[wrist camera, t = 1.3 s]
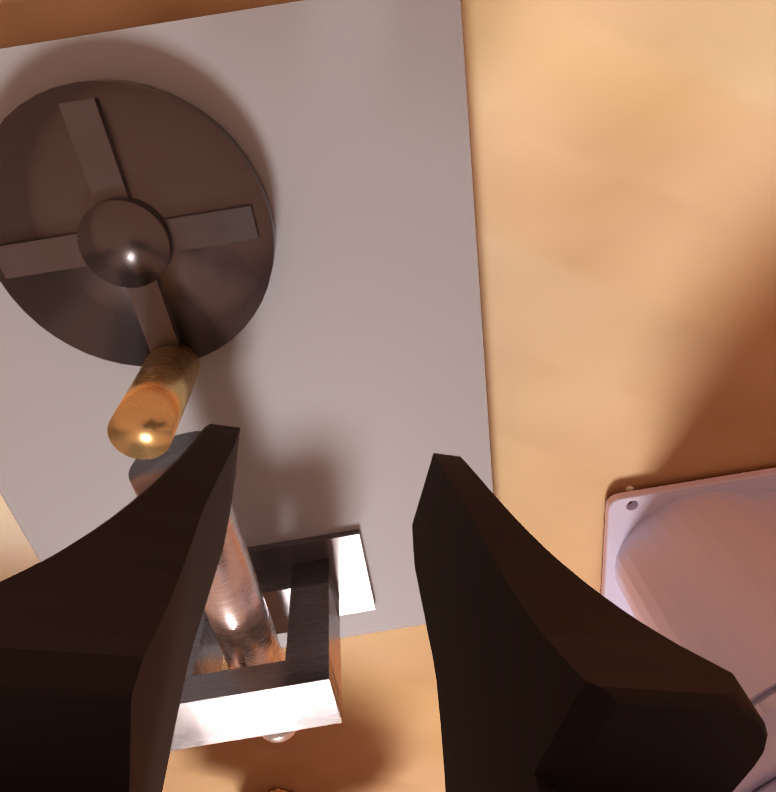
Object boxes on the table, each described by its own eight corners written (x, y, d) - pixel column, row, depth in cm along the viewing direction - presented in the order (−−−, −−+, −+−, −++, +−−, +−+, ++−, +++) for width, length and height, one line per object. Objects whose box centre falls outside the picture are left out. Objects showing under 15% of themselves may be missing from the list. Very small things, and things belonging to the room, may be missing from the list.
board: (450, -21, 17) (458, -25, 16) (494, 591, 29) (501, 611, 28) (-202, 84, 17) (-238, 86, 16) (115, 653, 29) (107, 676, 28)
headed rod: (235, 424, 20) (221, 481, 17) (319, 691, 27) (318, 761, 24) (143, 439, 20) (115, 499, 17) (251, 702, 27) (243, 773, 24)
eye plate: (358, 528, 25) (366, 652, 20) (374, 604, 27) (385, 732, 22) (136, 565, 24) (87, 698, 19) (171, 637, 27) (134, 774, 22)
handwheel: (236, 56, 16) (203, 60, 12) (305, 356, 20) (299, 435, 16) (-67, 105, 16) (-207, 125, 12) (67, 394, 20) (0, 483, 16)
